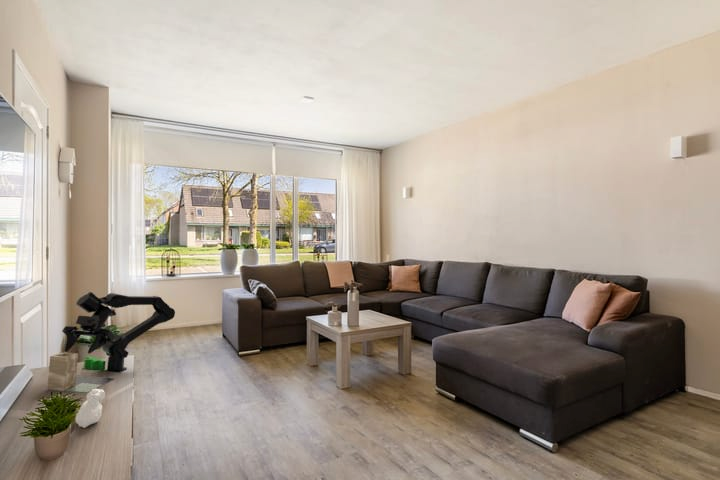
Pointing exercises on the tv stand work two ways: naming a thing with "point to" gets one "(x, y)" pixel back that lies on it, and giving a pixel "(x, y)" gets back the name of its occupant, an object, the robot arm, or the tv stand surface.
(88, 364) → the green block
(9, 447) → the tv stand surface
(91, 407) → the bust
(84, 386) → the peg plate
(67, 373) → the sleeve
